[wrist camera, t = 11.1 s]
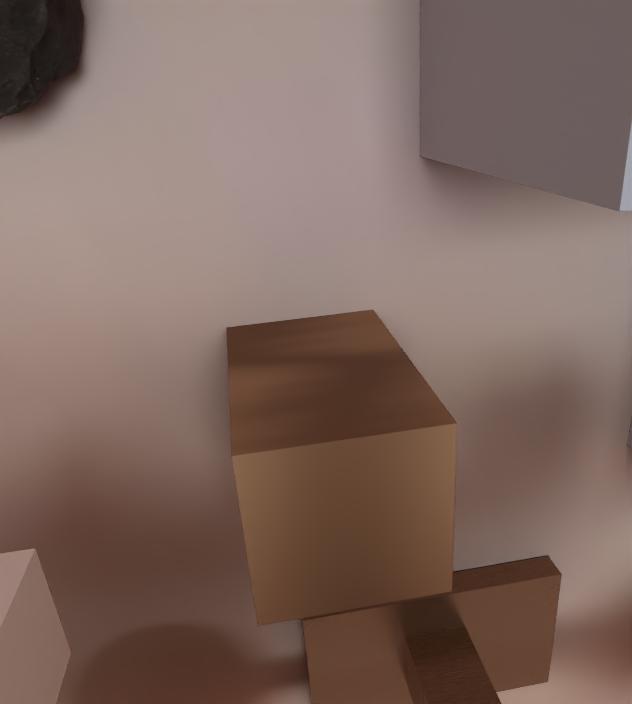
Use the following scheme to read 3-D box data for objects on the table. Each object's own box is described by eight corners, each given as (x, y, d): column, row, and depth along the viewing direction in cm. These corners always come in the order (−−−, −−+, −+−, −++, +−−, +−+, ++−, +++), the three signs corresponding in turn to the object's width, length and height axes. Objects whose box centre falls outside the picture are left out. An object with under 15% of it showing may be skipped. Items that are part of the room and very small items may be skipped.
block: (245, 453, 19) (258, 626, 13) (226, 327, 18) (231, 455, 11) (377, 434, 20) (451, 590, 14) (373, 309, 18) (457, 423, 12)
